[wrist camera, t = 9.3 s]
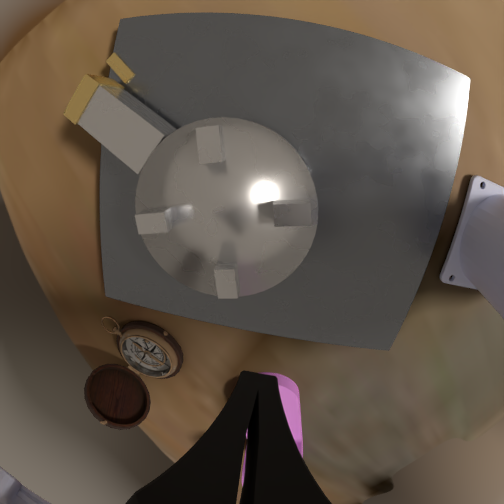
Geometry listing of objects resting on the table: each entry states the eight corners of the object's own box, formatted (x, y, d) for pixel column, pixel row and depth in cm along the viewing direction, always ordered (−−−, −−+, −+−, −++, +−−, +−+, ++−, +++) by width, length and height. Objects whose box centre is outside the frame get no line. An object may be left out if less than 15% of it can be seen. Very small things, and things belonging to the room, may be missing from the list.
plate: (461, 80, 13) (471, 78, 12) (385, 340, 21) (389, 351, 20) (124, 24, 14) (114, 19, 13) (109, 287, 22) (100, 296, 21)
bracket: (302, 444, 28) (301, 496, 22) (254, 445, 29) (246, 496, 23) (296, 369, 23) (296, 438, 17) (231, 372, 24) (215, 437, 18)
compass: (198, 349, 24) (172, 418, 17) (156, 387, 27) (130, 444, 20) (120, 290, 22) (71, 346, 16) (91, 339, 25) (52, 389, 18)
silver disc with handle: (346, 194, 16) (361, 213, 12) (242, 297, 19) (233, 334, 16) (144, 36, 13) (112, 20, 10) (71, 153, 17) (33, 163, 13)
